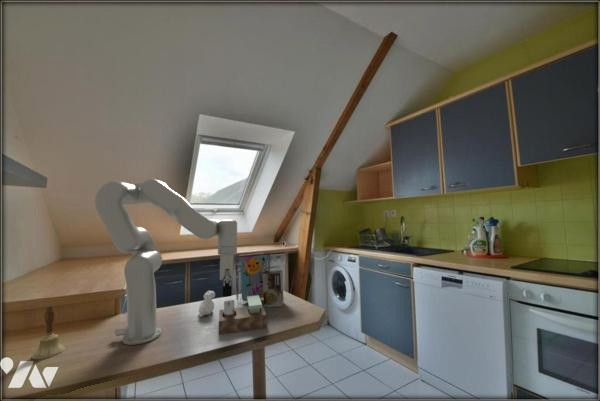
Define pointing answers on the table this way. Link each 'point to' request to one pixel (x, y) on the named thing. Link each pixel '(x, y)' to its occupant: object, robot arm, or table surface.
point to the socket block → (241, 320)
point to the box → (252, 275)
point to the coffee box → (273, 288)
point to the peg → (229, 308)
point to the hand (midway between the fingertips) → (227, 292)
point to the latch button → (254, 304)
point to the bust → (207, 304)
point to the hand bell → (49, 339)
